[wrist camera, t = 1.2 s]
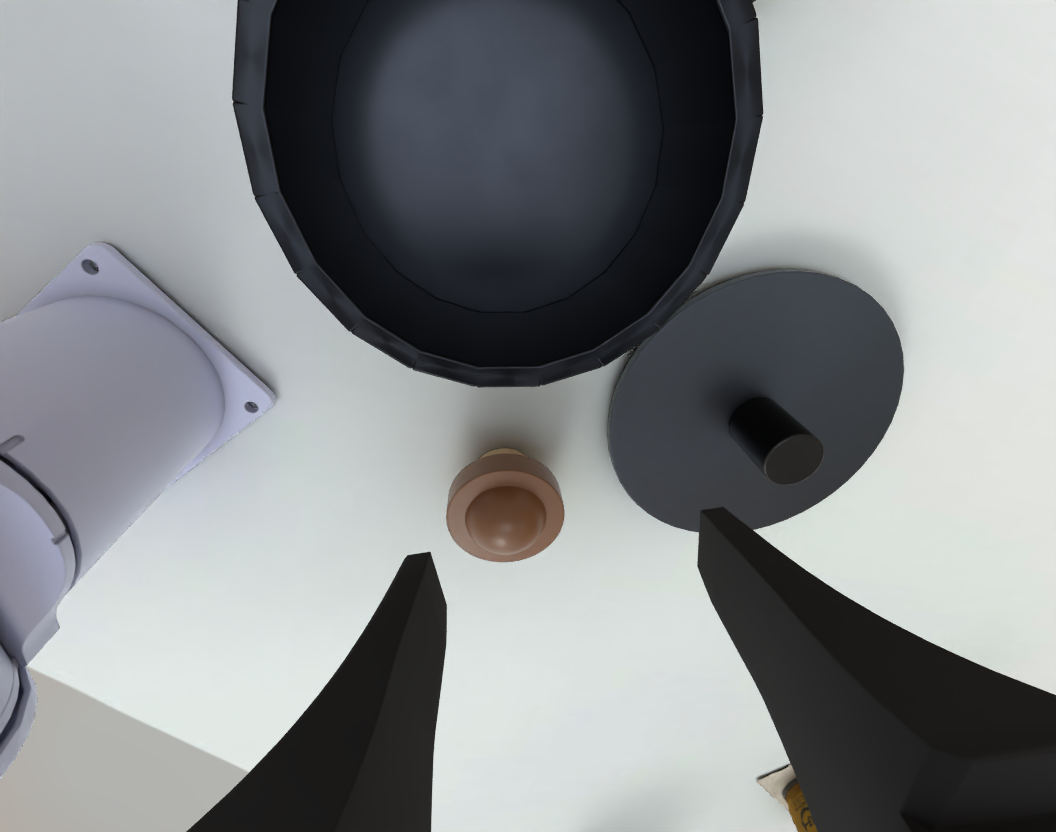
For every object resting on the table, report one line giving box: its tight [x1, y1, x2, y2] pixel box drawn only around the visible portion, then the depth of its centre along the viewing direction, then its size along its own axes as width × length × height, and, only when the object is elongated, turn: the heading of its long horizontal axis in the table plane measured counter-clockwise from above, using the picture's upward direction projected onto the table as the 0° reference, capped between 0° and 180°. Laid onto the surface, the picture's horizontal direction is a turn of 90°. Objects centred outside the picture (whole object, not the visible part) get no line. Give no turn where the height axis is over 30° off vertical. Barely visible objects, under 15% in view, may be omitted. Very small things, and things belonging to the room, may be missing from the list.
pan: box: [232, 0, 763, 387], centre depth 15 cm, size 12×12×6 cm
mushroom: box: [446, 448, 564, 562], centre depth 22 cm, size 5×5×5 cm
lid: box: [607, 269, 904, 532], centre depth 21 cm, size 13×13×4 cm
